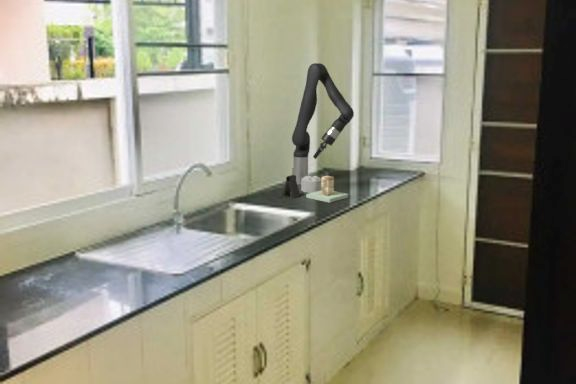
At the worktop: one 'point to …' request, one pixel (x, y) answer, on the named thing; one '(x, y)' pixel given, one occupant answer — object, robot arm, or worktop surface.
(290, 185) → the phone stand
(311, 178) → the lumpy-topped squat cylinder
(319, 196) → the pocket frame
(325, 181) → the birch block
